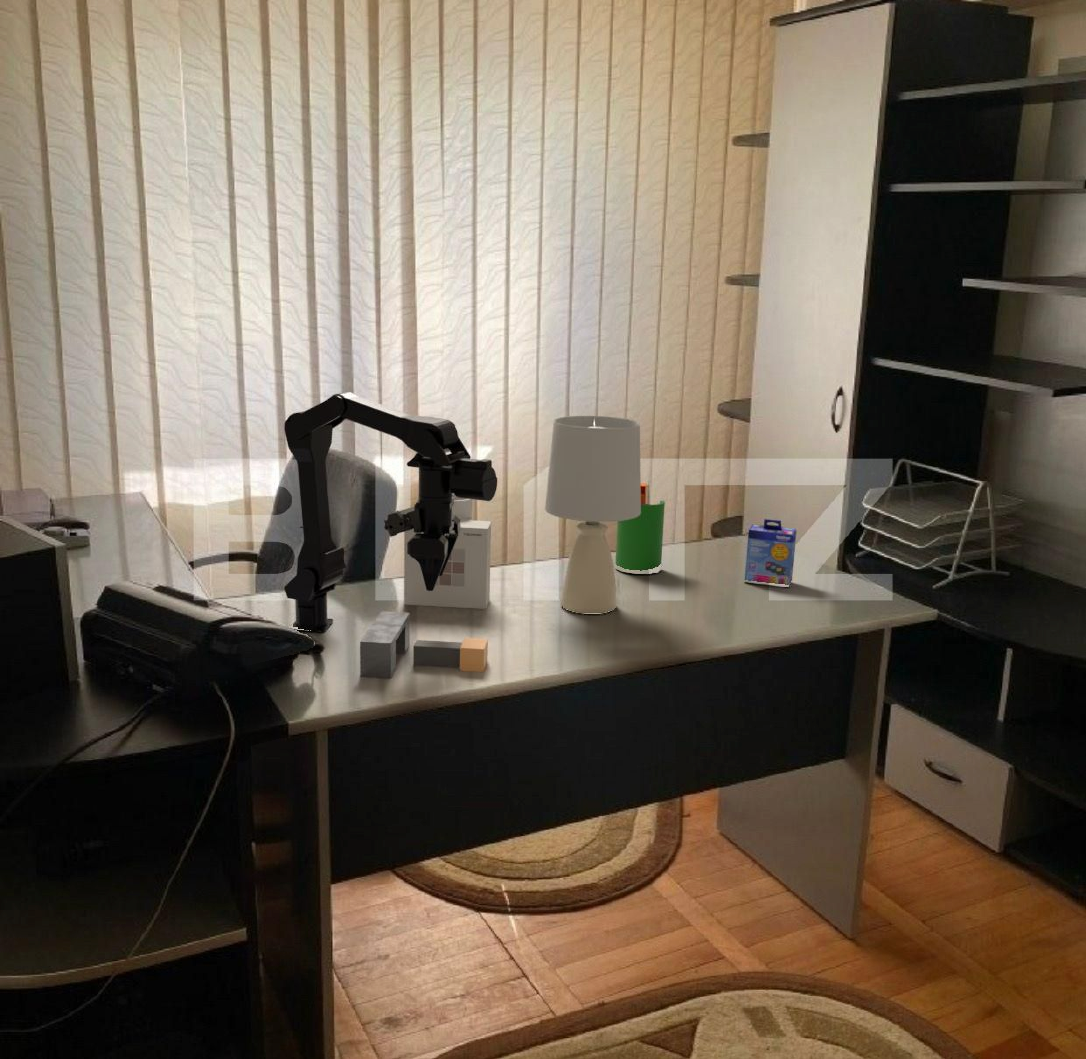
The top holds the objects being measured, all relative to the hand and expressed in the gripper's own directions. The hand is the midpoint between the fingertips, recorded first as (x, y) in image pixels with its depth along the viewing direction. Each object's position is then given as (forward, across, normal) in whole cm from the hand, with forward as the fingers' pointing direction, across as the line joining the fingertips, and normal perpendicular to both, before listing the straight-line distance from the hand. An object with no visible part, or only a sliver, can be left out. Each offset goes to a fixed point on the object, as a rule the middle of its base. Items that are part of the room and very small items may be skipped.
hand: (434, 582), depth 194 cm
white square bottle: (+12, -33, -2) cm, 35 cm away
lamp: (+12, -29, +26) cm, 41 cm away
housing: (+12, +7, -7) cm, 16 cm away
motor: (+12, -58, +36) cm, 69 cm away
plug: (+12, +7, +4) cm, 15 cm away
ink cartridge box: (+12, -53, +64) cm, 84 cm away
